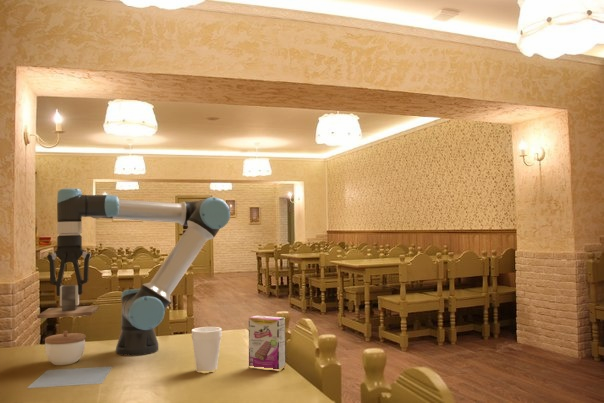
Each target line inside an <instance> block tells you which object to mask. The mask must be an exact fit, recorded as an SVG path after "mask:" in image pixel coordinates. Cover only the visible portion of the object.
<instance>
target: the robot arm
mask: <svg viewBox="0 0 604 403" xmlns="http://www.w3.org/2000/svg"><path fill="white" fill-rule="evenodd" d="M82 192H83V191H82V190H81V188H60V189H59V190H58V191H57V195H56V196H57V199H56V207H57V208H56V214H57V216H56V219H57V222H56V224H57V225H56V233H57V238H56V241H57V242H56V246H57V248H56V250H55V252H53V253H50V254H48V255H47V256H46V258H47V259H48V261H49V280H50V281H49V282H50V285H54V286H55V287H56V297H58V296H59V306H60V307H62V286H65V284H64V285H63V279H64V274H65V271H66V266H67V264H68V263H71V264H72V265H73V268H74V273H75V277H76V278H75V279H76V282H77V284H75V285H76V286H75V305H77V306H80V295H81V296H82V295H83V286H84V284H86V283H88V282H89V278H90V277H89V270H90V269H89V268H90V259H91V257H92V253H90V252H86V251H84V249H83V244H82V242H83V241H82V239H83V237H82V235H81V234H82V233H83V230H82V229H83V227H82V226H83V225H82V224H83V223H82V220H83V219H82V218H83V217H84V218H89V217H90V218H92V219H97V220H98V219H108V220H112V219H113V220H126V221H127V220H128V221H143V222H144V221H145V222H160V223H161V222H162V223H174V224H175V223H178V224H179V225H180V226H185V227H187V228H186V229H185V231H184V232H183V234H182V235H181V237H180V238H179V240H178V241H177V242H176V244H175V245H174V246H173V248H172V250H171V251H170V252H169V254H168V256H167V257H166V258H165V260H164V261H163V263H162V264H161V265H160V267H159V268H158V270H157V271H156V273H155V274H154V276H153V278H151V280H150V281H149V282H146V283H143V284H142V285H141V287H140V288H133V289H132V288H131V289H124V290H123V291H122V292H121V297H120V301H121V315H120V316H121V319H120V322H121V324H120V325H121V328H120V330H121V331H120V334H119V338H118V340H117V343H116V346H115V353H116V354H117V355H119V356H120V355H121V356H142V355H148V354H151V353H152V354H153V353H156V352H158V351H159V341H158V339H157V335H156V331H155V328H156V327H158V326H159V325H160V324H161V323H162V321H163V320H164V317H165V313H166V310H167V308H168V307H169V305H170V303H171V302H172V301H171V295H172V293H173V292H174V290H175V288H176V287H177V286H178V284H179V282H180V281H181V280H182V278H183V277H184V275H185V274H186V272H187V271H188V269H189V268H190V266H191V265H192V263H193V262H194V261H195V259H196V258H197V256H198V255H199V253H200V252H201V251H202V249H203V247H204V246H205V244H206V243H207V242H208V241H209V240H214V239H215V237H216V235H217V234H218V232H219V231H220V229H222V228H224V227H225V226H226V225H227V224H228V222H230V218H231V210H230V207H229V205H228V204H227V203H226V202H227V201H225V200H224V199H222V198H219V197H215V196H214V197H213V196H211V197H207V198H204V199H201V200H200V199H199V200H193V201H181V202H180V203H177V202H175V203H174V202H163V201H150V200H149V201H148V200H147V201H146V200H137V199H136V200H135V199H124V198H123V199H120V198H119V197H118V195H113V194H83V193H82ZM57 257H58V259H59V260H60V265H59V271H58V273H57V274H58V276H56V259H57ZM81 257H83V259H84V260H83V276H82V273H81V269H80V263H79V259H80V258H81ZM56 277H57V279H56ZM82 277H83V278H82Z"/></svg>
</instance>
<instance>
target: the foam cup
mask: <svg viewBox="0 0 604 403" xmlns="http://www.w3.org/2000/svg"><path fill="white" fill-rule="evenodd" d="M222 332H223V329H222V327H219V326H218V327H217V326H202V327H196V328H192V329H191V338H192V344H193V345H192V346H193V351H194V352H193V353H194V361H195V368H196V369H195V370H196V372H197V371H212V370H215V369H217V370H218V363H219V355H220V350H221V349H220V348H221V340H222V337H223V336H222V335H223V333H222Z"/></svg>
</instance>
